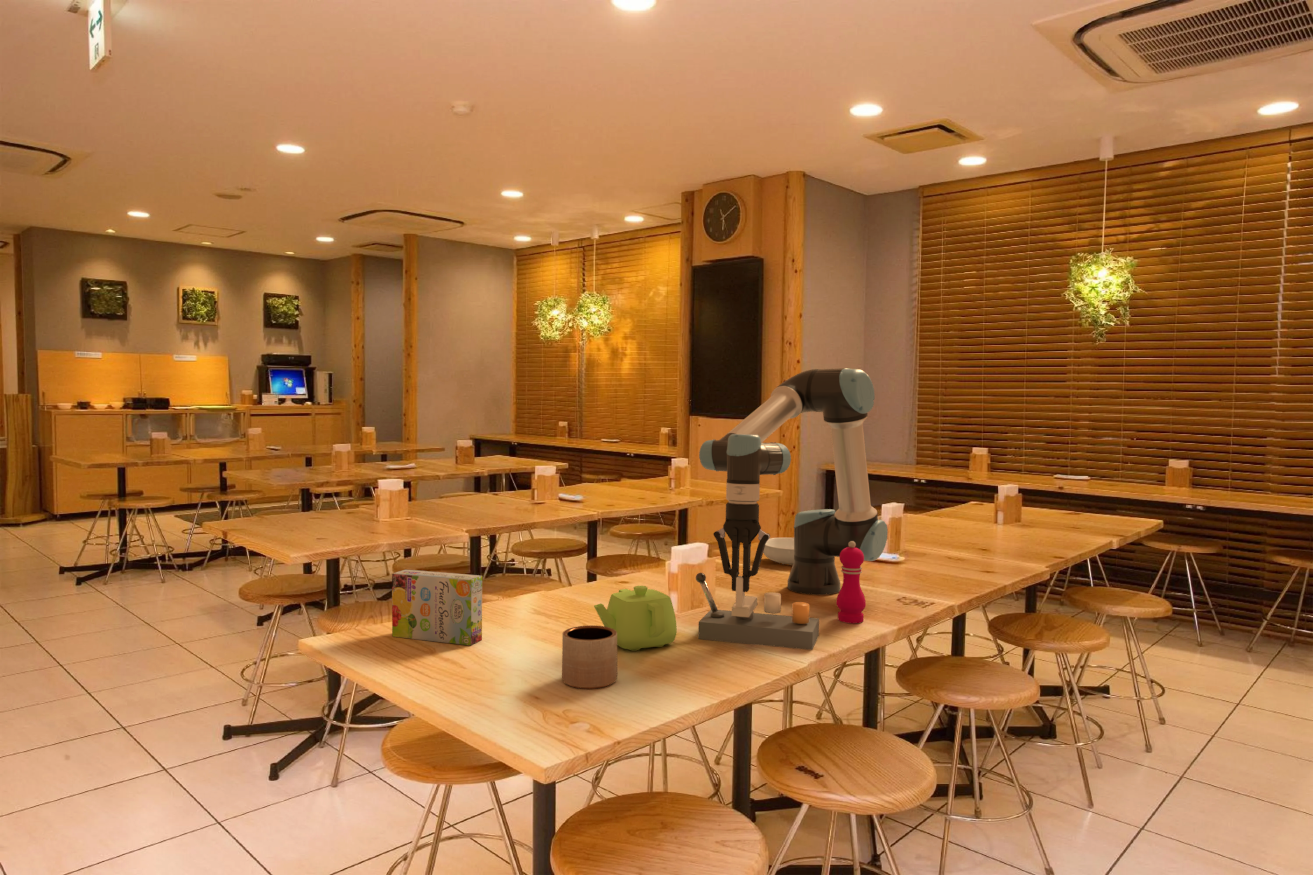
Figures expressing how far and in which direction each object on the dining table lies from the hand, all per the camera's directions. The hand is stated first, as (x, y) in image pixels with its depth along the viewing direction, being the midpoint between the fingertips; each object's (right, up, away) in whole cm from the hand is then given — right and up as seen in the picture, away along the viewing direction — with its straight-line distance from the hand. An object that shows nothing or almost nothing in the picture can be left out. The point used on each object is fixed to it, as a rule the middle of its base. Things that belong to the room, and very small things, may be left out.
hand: (740, 605), depth 189 cm
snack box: (-69, -8, +2) cm, 70 cm away
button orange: (+14, -4, +1) cm, 15 cm away
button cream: (+8, -2, +3) cm, 9 cm away
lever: (-5, -3, +7) cm, 9 cm away
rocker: (+2, -2, +5) cm, 6 cm away
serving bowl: (+27, -4, +92) cm, 96 cm away
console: (+5, -8, +4) cm, 10 cm away
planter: (-32, -10, -26) cm, 42 cm away
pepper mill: (+30, -8, +19) cm, 36 cm away
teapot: (-24, -9, -2) cm, 26 cm away
